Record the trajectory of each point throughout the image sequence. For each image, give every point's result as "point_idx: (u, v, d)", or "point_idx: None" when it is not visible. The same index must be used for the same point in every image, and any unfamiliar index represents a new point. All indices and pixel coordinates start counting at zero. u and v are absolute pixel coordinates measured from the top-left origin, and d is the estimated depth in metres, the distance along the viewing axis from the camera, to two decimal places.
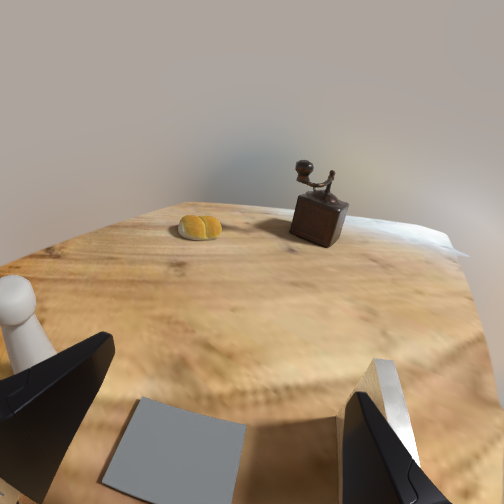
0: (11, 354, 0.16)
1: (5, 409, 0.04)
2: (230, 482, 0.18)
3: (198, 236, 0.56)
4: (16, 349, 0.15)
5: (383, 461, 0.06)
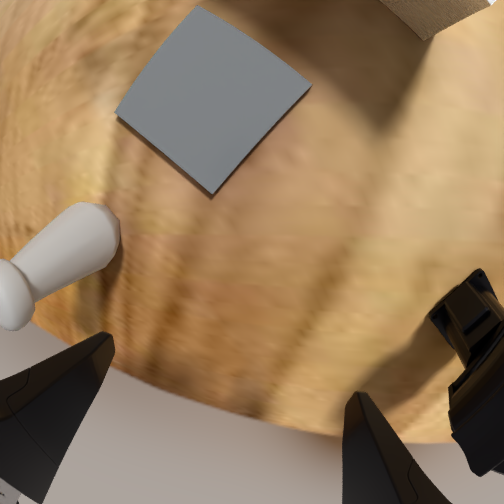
0: (63, 285, 0.16)
1: (5, 410, 0.04)
2: (262, 52, 0.15)
3: None
4: (55, 280, 0.15)
5: (383, 461, 0.06)
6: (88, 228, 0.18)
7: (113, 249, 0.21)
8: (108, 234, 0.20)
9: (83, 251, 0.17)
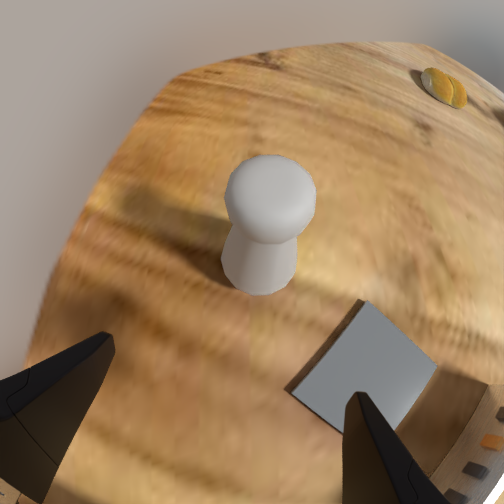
0: (240, 253, 0.17)
1: (5, 410, 0.04)
2: (398, 419, 0.20)
3: (444, 99, 0.33)
4: (255, 254, 0.16)
5: (383, 461, 0.06)
6: (281, 279, 0.20)
7: (246, 292, 0.22)
8: (265, 292, 0.21)
9: (266, 277, 0.19)
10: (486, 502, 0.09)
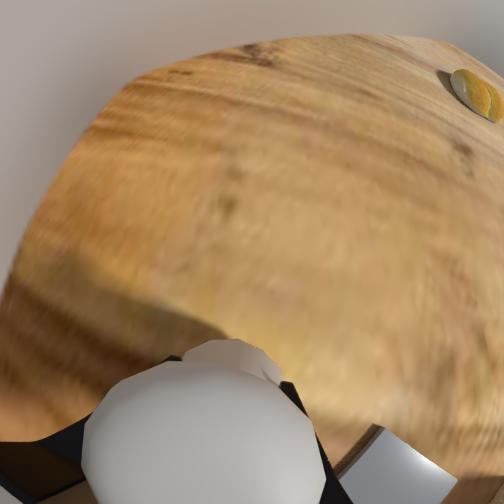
0: None
1: None
2: None
3: (480, 110, 0.24)
4: None
5: None
6: None
7: None
8: None
9: None
10: None
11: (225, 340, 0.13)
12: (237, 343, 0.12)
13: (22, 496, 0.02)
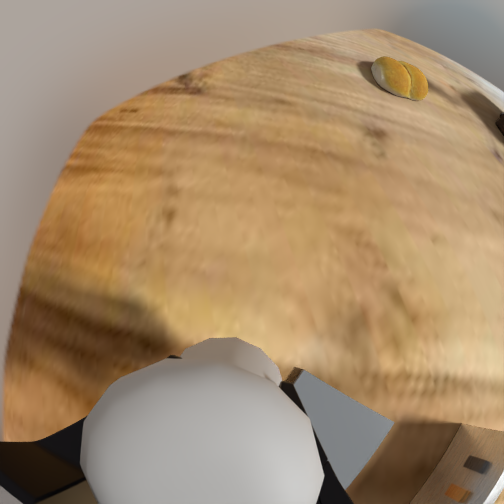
0: None
1: None
2: (350, 478, 0.18)
3: (400, 92, 0.31)
4: None
5: None
6: None
7: None
8: None
9: None
10: None
11: (223, 339, 0.13)
12: (235, 341, 0.12)
13: (22, 496, 0.02)
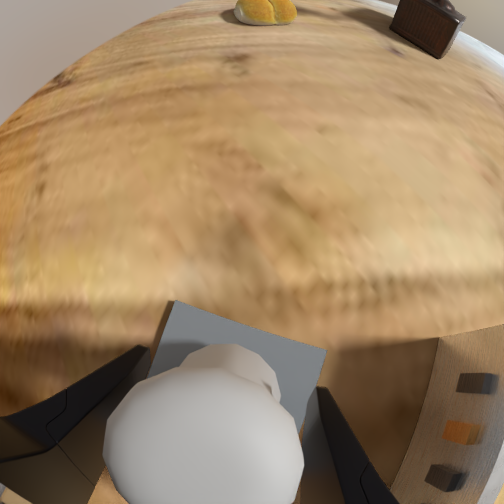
0: None
1: (46, 439, 0.04)
2: None
3: (263, 20, 0.29)
4: None
5: (334, 461, 0.06)
6: None
7: None
8: None
9: None
10: None
11: (224, 345, 0.14)
12: (235, 348, 0.13)
13: None
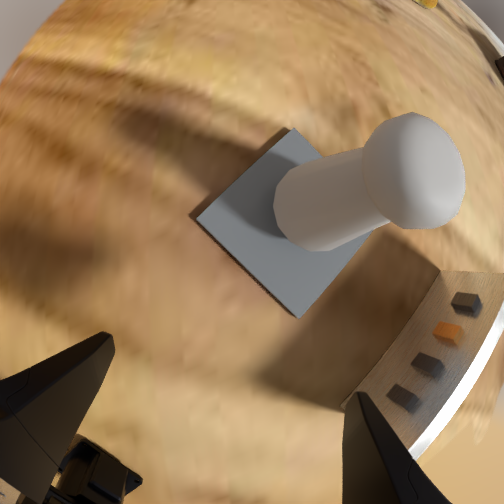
0: (326, 200, 0.13)
1: (5, 409, 0.04)
2: (329, 276, 0.21)
3: None
4: (347, 214, 0.12)
5: (383, 461, 0.06)
6: (336, 245, 0.16)
7: (287, 236, 0.18)
8: (308, 247, 0.18)
9: (329, 237, 0.15)
10: (444, 410, 0.14)
11: None
12: None
13: None
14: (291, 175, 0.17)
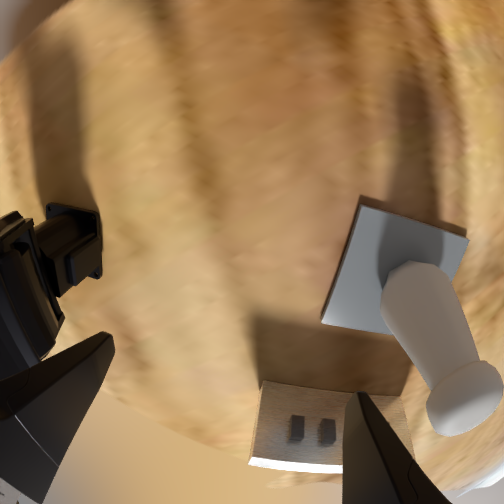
0: (427, 333, 0.13)
1: (5, 410, 0.04)
2: (364, 326, 0.23)
3: None
4: (423, 355, 0.13)
5: (383, 461, 0.06)
6: None
7: (385, 293, 0.18)
8: (383, 312, 0.19)
9: (399, 335, 0.16)
10: (301, 465, 0.19)
11: None
12: None
13: None
14: (434, 276, 0.16)
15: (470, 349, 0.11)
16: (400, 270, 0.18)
